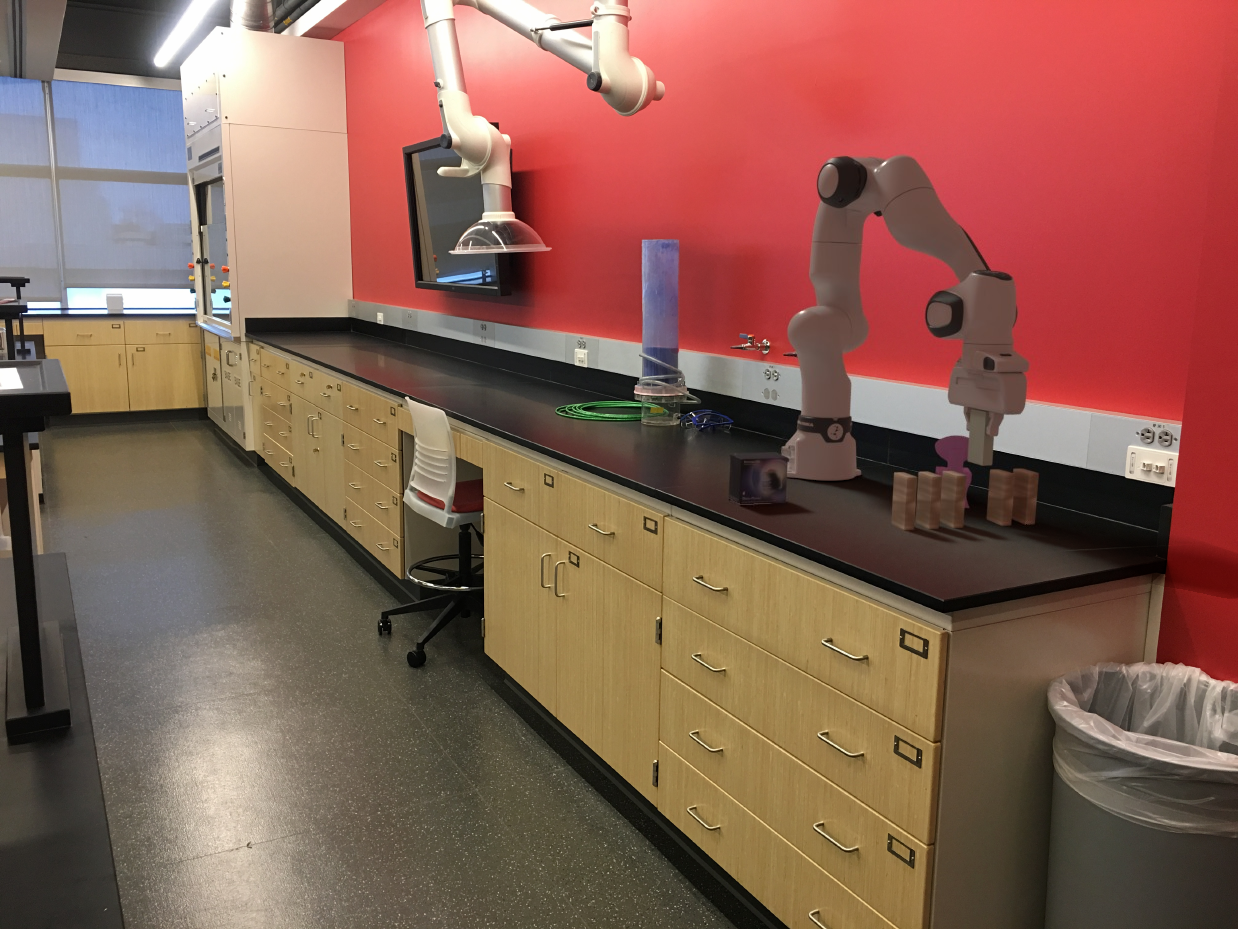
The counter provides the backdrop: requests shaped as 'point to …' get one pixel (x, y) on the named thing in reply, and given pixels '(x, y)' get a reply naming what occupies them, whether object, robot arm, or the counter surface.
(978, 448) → the domino
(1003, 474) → the domino
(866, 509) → the counter surface
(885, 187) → the robot arm
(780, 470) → the small box
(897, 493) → the domino
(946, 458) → the toy chair
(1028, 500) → the domino
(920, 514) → the domino
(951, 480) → the domino
